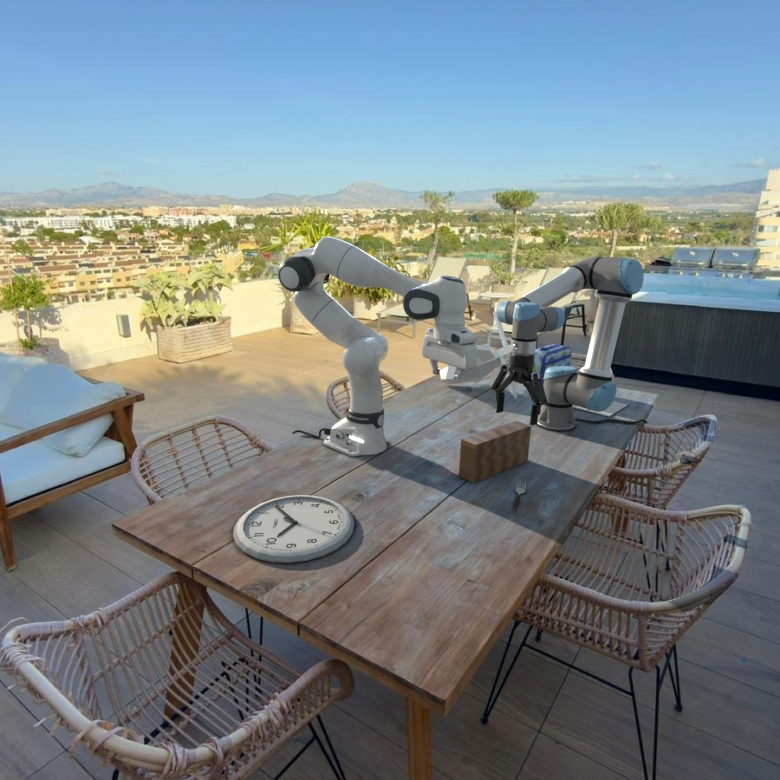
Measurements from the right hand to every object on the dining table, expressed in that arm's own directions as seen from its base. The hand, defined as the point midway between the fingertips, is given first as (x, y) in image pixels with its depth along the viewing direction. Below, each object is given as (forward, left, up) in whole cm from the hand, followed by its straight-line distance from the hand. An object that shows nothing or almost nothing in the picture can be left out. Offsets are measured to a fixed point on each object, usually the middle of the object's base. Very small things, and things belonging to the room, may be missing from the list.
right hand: (516, 418), depth 167 cm
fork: (+1, +26, -15) cm, 30 cm away
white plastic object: (+7, -74, -15) cm, 76 cm away
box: (+6, +6, -15) cm, 18 cm away
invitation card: (-44, -62, -15) cm, 78 cm away
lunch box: (-25, -85, -15) cm, 90 cm away
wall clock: (+59, +49, -15) cm, 78 cm away
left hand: (+23, +8, +15) cm, 28 cm away
